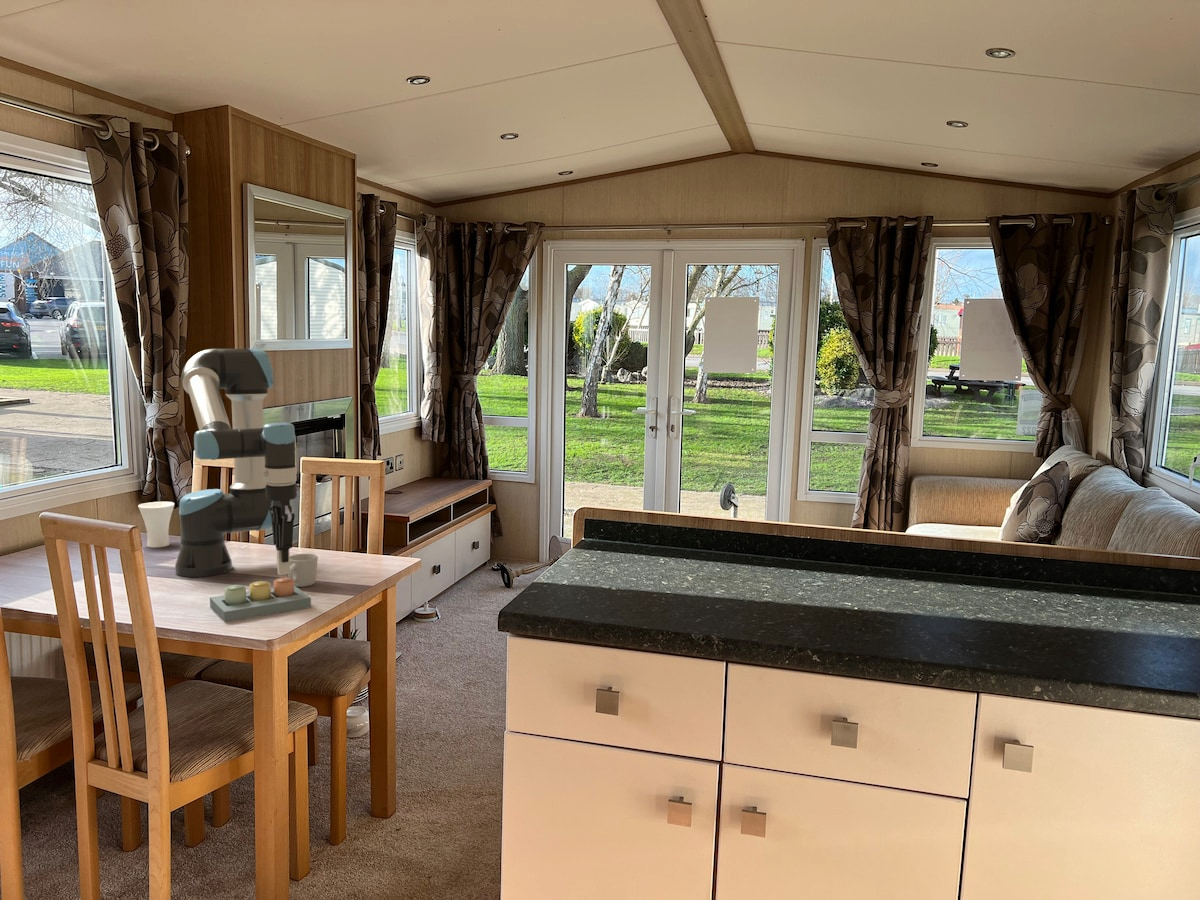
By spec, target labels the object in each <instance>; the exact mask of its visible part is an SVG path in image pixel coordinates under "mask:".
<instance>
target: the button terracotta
mask: <svg viewBox="0 0 1200 900" xmlns="http://www.w3.org/2000/svg"><path fill="white" fill-rule="evenodd" d="M273 587H274V596H275V597H276V598H280V597H286V596H292V595H294V579H291V578H288V577H279V578H276V579H275V580H273Z"/></svg>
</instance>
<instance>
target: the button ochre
mask: <svg viewBox="0 0 1200 900" xmlns="http://www.w3.org/2000/svg"><path fill="white" fill-rule="evenodd" d="M271 588H272V587H271V583H270V582H269V581H265V580H262V581H261V580H260V581H259V580H258V581H254V582H251V583H250V584H249V591H250V601H253V602H256V601H262V600H268V599H271Z"/></svg>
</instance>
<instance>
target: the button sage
mask: <svg viewBox="0 0 1200 900" xmlns="http://www.w3.org/2000/svg"><path fill="white" fill-rule="evenodd" d="M246 592H247V586H246V585H243V584H233V585H228V586H227V587H225V588H224V595H225V605H227V606H231V605H237V604H243V603H246V602H247V600H246Z"/></svg>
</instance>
